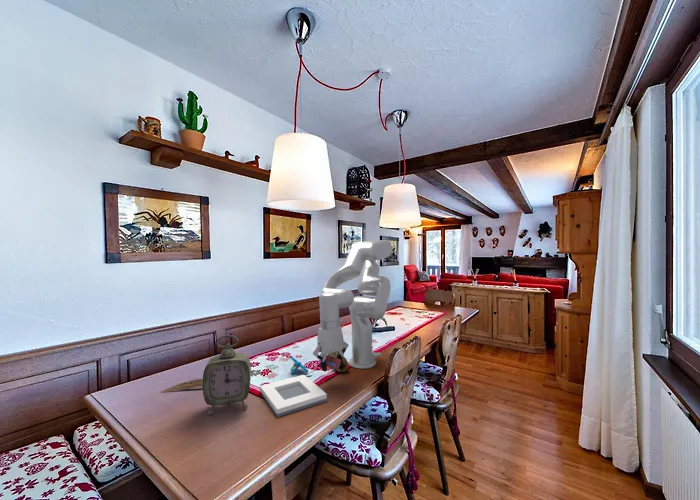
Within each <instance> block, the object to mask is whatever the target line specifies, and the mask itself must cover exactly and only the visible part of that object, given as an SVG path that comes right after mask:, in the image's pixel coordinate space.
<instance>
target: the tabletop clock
mask: <svg viewBox="0 0 700 500" xmlns="http://www.w3.org/2000/svg"><path fill="white" fill-rule="evenodd" d="M227 338H234V339H235V340H236V343H234V344H230V343H226V344H225V345H220V344H219V342H220V340H223V339H227ZM238 343H239V338H238V337H237V336H235V335H231V334H228V335H227V334H226V335H223V336H221V337H219V338H218V339H217V341H216V345H217V346H218V348H220V349H221V348H222V350H221V352H220V354H218V355H215V356H212V357H210V359H209V360H208V362H207V363H206V365H205V366H204V367H205V368H204V370H203V375H202V379H203V385H202V386H203V389H202V394H203V395H202V396H203V399H204V403H205V404H206V405H209V406H211V407H210V409H209V410H208V411H207V414H208V416H211V415H213V414H214V408H215V406H226V405H227V406H231V405H232V404H235V403H239V402H241V405H242V406H241V408H242V410H247V408H248V404H245V401H244V400H246V399H248V396H249V392H250V388H251V387H250V384H251V380H252V379H251V378H252V367H251V366H252V365H251V359H250V357H249V355H248V354H247V353H245V352H244V353H243V352H236V351H235V349H234V347H236V346H237V344H238Z"/></svg>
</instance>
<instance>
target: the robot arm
mask: <svg viewBox="0 0 700 500" xmlns="http://www.w3.org/2000/svg"><path fill="white" fill-rule="evenodd" d="M392 252H393V246H392V244H391V242H390V241H389V240H387V239H382V240H381V239H379V240H378V239H377V240H363V241H359V242H355V243H354V244H352V246H351V247H350V250H349V252H348V255H347V257H346V259H345V261H344V262H343V265H342V267H340V268H339V269H337V270H336V271H335V272H334V273H333V274H331V275H330V277H328V278H327V280H326V281H325V283H324V286H323V287H322V289H321V290H322V291H321V293H320V294H319V298H318V299H319V303H318V304H319V319H320V322H319V323H320V327H318V330H317V336H316V337H317V339H316V344H317V345H316V348H315V349H314V351H313V352H312V355H313V356H314V357H315V358H317V360H319V361H320V369H321V370H322V371H323V372H325V373H326V372H328V366H326V361H325V359H326V356H327V355H328V354H330V353H334V352H337V353H338V355H337V358H338V359H341V363H340V367H342V363H343V356H344V357H345V353H346V352H347V350H348V347H350V346H349V344H348V342H347V341H345V339H344V334H343V329H342V326H341V325H340V324H341V323H342V322H343V319H342V318H340V309H347V308H348V309H349V313H350V314H349V315H350V321H351V357H352V358H351V359H349V361H348V366H350V367H352V368H355V369H359V370H361V369H362V370H363V369H371V368H374V367H375V366H376V364H377V360H376V358H380V357H381V356H382V355H381V354H382V353H381V352H380V351H379V352H375V351H373V326H372V323H371V321H370V319H376V320H378V319H382V318H384V316H385V315H386V312H387V308H388V304H389V299H390V294H391V287H392V286H391V281H390V279H389V277H386V276H383V275H382V276H381V275H379V274H380V266H379V264H378V262H377V261H379V260H383V259H388V258H389V257H390V256H391V254H392ZM359 276H360V277H359ZM358 277H359V280H358V284H357V291H358V293H359V294H360V295H356V296H355V295H354V293H353V292H352V291H351V290H349V289H346V288H342V289H341V288H339V287H340V286H341V285H342V284H344V283H346V282H349V281H352V280H353V279H356V278H358ZM319 353H320V354H319ZM338 356H339V357H338Z"/></svg>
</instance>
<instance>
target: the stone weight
mask: <svg viewBox="0 0 700 500" xmlns="http://www.w3.org/2000/svg"><path fill="white" fill-rule="evenodd" d="M334 353H335V355H336V356H335V357H334V358H337V355H338V353H337V352H334ZM334 353H330V354H327V355H328V356H329V355H330V356H331V357H333V356H334ZM333 370H334V371H337V372H339V373H342V372H346V371H347V370H349V361H348V359H347V358H346V357H345V355H344V356H343V363H342V367H340V366H339V369H335V368H334V369H333Z"/></svg>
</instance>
